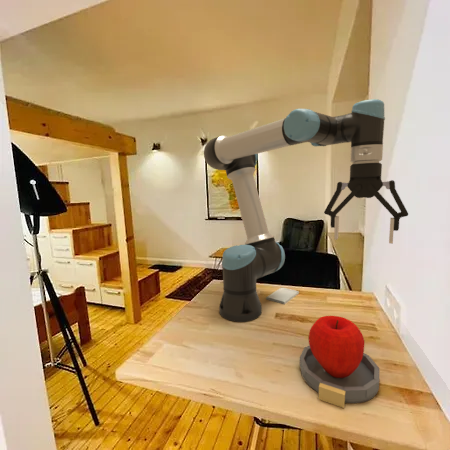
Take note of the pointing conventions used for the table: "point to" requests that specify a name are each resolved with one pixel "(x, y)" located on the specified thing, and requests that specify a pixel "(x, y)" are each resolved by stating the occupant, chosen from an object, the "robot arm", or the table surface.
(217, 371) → the table surface
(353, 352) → the apple
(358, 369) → the dish
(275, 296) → the hard drive
